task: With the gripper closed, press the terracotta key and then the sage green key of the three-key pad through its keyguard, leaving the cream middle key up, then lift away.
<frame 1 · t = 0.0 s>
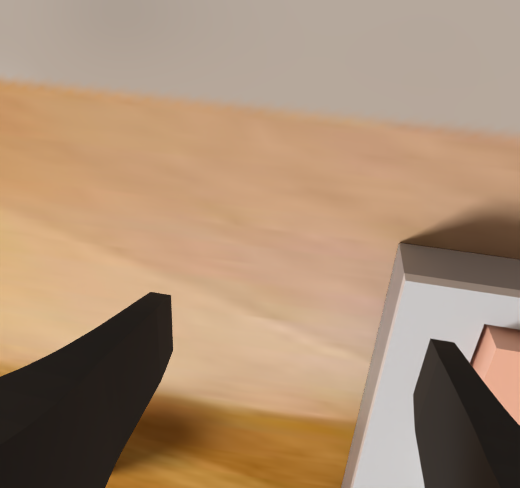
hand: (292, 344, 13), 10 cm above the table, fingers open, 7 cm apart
keypad base: (473, 409, 25), on the table
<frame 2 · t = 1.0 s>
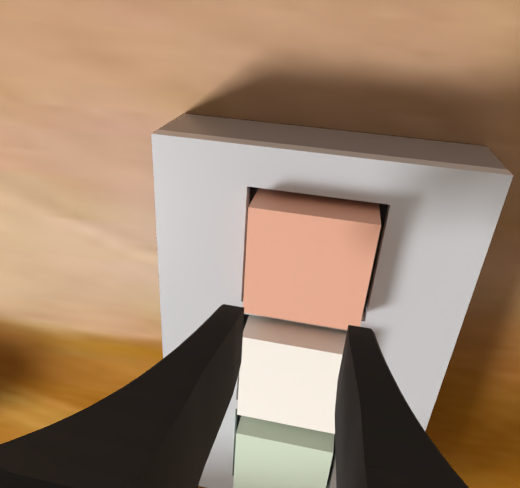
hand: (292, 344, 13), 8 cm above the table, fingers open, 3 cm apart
cream key: (294, 369, 20), point 3 cm above the table, slide at 0.0 cm
sage key: (283, 454, 22), point 3 cm above the table, slide at 0.0 cm
keypad base: (302, 321, 23), on the table
terracotta key: (309, 257, 17), point 3 cm above the table, slide at 0.0 cm
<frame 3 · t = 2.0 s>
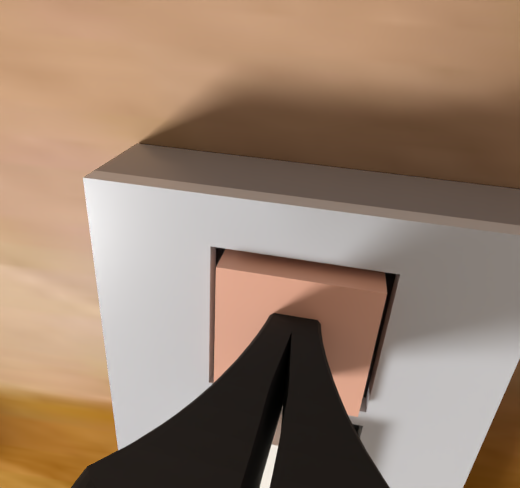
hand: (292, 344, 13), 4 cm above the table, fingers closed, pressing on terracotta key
cream key: (277, 461, 16), point 3 cm above the table, slide at 0.0 cm
keypad base: (290, 389, 19), on the table
terracotta key: (295, 322, 14), point 3 cm above the table, slide at 0.6 cm, touching gripper
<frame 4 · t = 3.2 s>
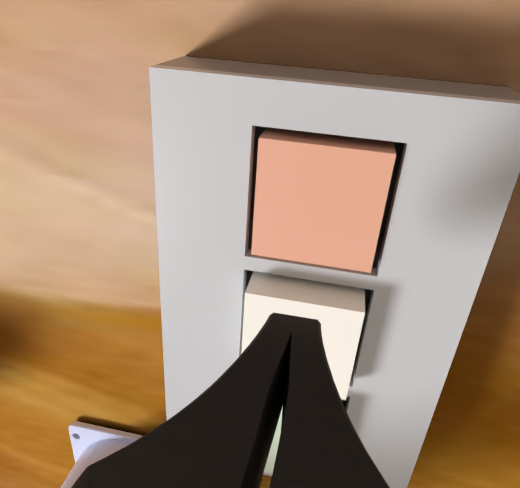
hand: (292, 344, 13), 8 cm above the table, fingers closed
cream key: (300, 330, 19), point 3 cm above the table, slide at 0.0 cm
sage key: (287, 424, 21), point 3 cm above the table, slide at 0.0 cm
keypad base: (308, 285, 21), on the table
terracotta key: (319, 196, 17), point 3 cm above the table, slide at 0.8 cm
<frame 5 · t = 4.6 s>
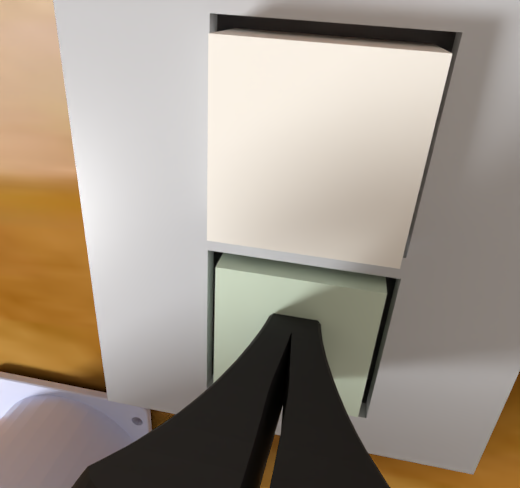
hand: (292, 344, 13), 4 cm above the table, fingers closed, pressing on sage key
cream key: (316, 146, 10), point 3 cm above the table, slide at 0.0 cm
sage key: (295, 322, 14), point 3 cm above the table, slide at 0.8 cm, touching gripper
keypad base: (325, 114, 13), on the table
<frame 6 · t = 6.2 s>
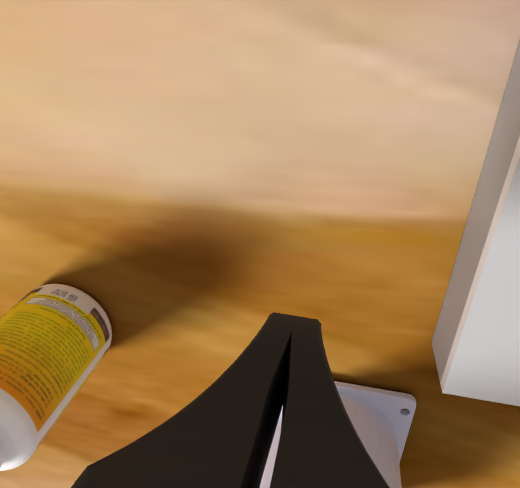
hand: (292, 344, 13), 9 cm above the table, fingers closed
supplement bottle: (74, 317, 27), on the table
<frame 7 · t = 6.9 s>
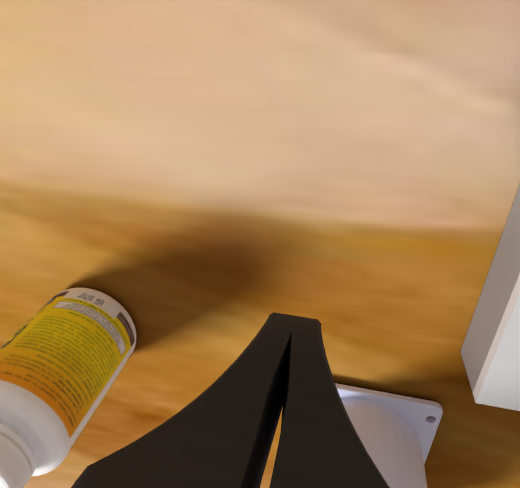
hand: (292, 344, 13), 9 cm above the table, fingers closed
supplement bottle: (97, 320, 27), on the table
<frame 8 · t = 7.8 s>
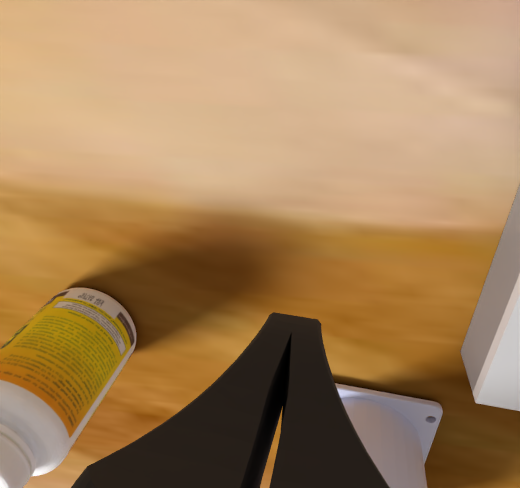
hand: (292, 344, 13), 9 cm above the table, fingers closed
supplement bottle: (97, 320, 27), on the table
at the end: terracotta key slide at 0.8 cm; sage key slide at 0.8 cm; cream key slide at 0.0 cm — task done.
